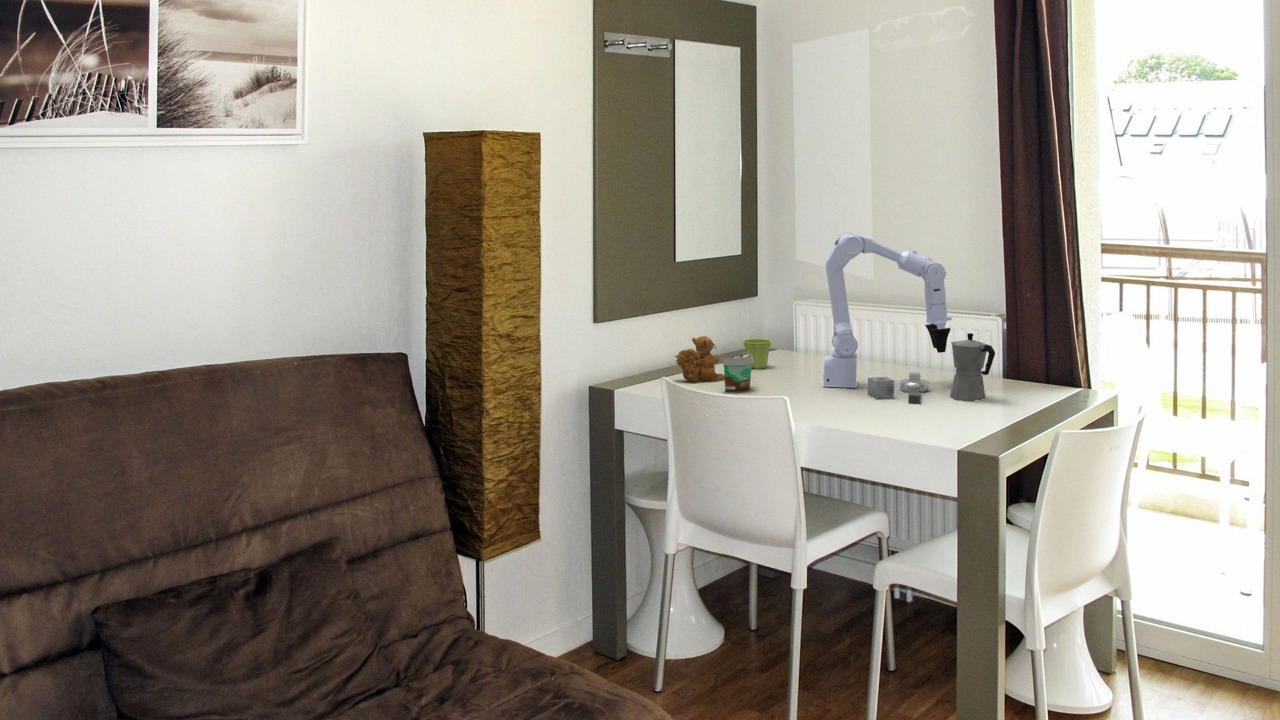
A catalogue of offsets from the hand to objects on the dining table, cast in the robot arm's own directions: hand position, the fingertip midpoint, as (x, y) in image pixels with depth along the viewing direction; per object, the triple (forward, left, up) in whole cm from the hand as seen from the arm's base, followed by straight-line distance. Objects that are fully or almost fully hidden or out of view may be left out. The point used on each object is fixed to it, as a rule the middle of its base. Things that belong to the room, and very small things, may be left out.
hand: (939, 350), depth 313 cm
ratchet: (-7, -16, -10) cm, 20 cm away
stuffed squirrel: (-70, -6, -11) cm, 71 cm away
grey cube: (-16, -20, -10) cm, 27 cm away
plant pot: (-56, +19, -11) cm, 60 cm away
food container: (-55, -18, -11) cm, 58 cm away
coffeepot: (+8, -18, -11) cm, 22 cm away
